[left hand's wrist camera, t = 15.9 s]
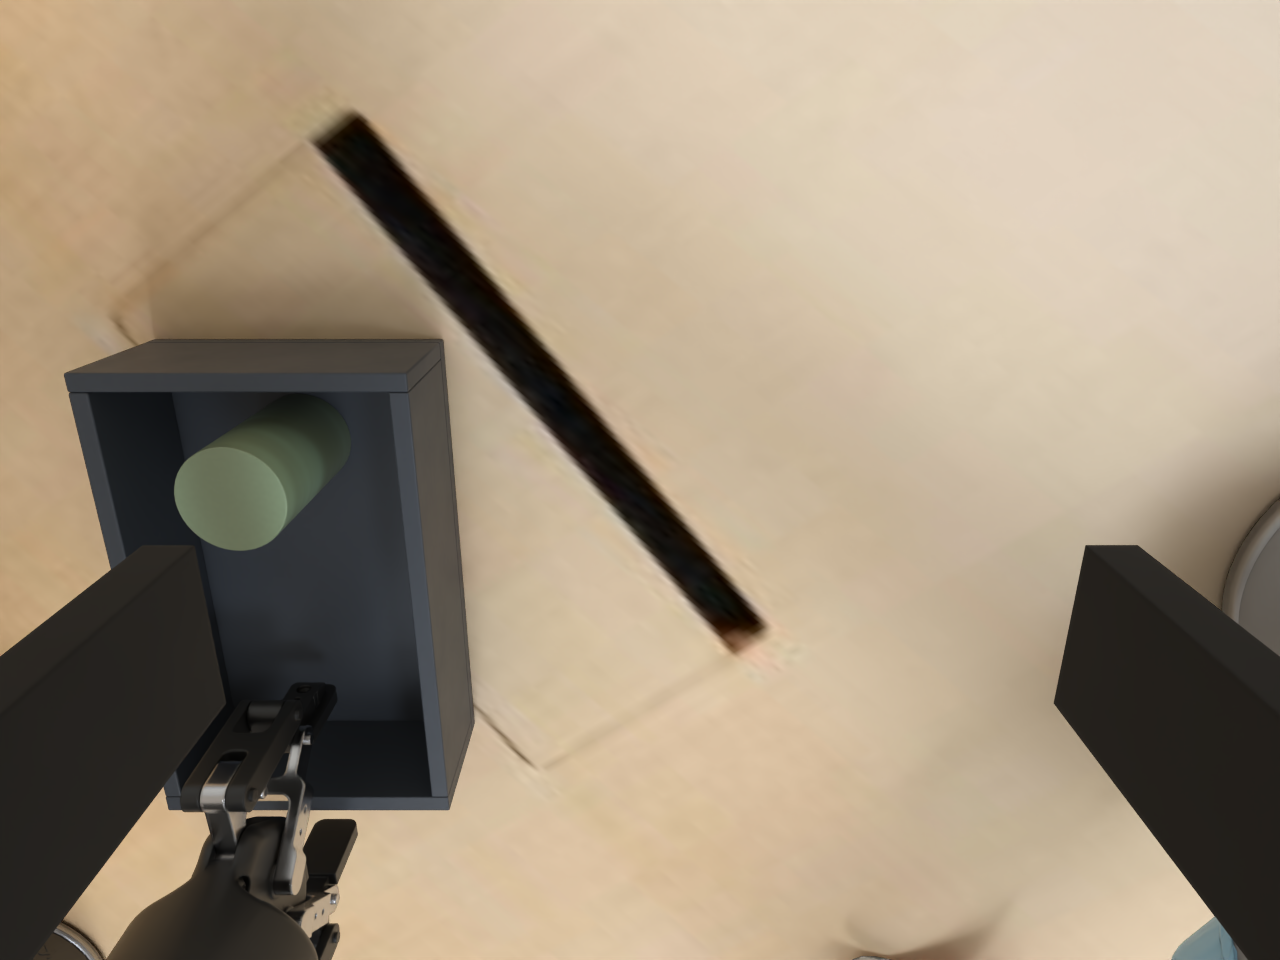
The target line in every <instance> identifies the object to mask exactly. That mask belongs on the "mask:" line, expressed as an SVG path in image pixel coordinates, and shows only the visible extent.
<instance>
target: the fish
mask: <svg viewBox="0 0 1280 960" xmlns="http://www.w3.org/2000/svg"><path fill="white" fill-rule="evenodd" d="M853 960H890V959H885V958H880V957H874V956H861V957H858V958H855V959H853Z"/></svg>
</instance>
